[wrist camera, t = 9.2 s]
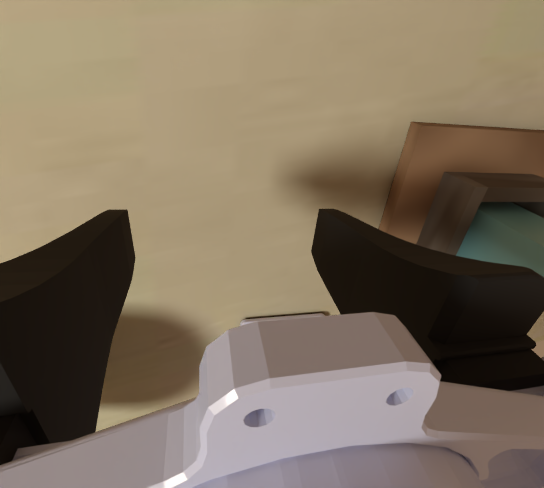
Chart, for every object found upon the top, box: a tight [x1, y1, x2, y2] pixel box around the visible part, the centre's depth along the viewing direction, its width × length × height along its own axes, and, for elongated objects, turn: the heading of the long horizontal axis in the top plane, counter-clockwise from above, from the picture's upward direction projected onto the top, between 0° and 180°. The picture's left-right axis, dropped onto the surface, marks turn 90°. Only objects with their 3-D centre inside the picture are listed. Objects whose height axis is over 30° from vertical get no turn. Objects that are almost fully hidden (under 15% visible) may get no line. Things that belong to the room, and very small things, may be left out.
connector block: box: [456, 202, 544, 277], centre depth 22 cm, size 4×4×8 cm
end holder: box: [379, 122, 544, 255], centre depth 24 cm, size 14×14×4 cm
